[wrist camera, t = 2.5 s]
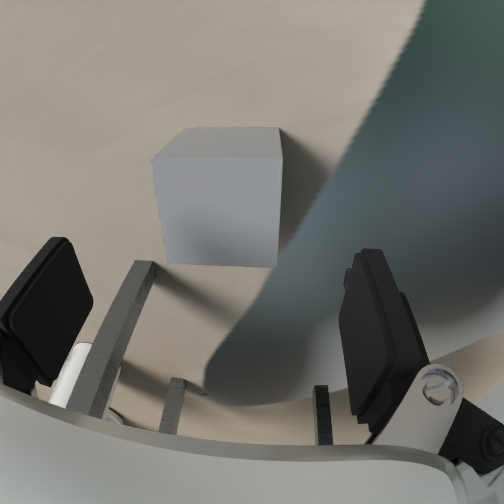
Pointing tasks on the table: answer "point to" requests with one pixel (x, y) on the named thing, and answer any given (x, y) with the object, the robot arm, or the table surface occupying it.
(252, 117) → the table surface
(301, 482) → the robot arm
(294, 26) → the table surface
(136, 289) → the stand
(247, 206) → the grey cube
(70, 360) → the mug
